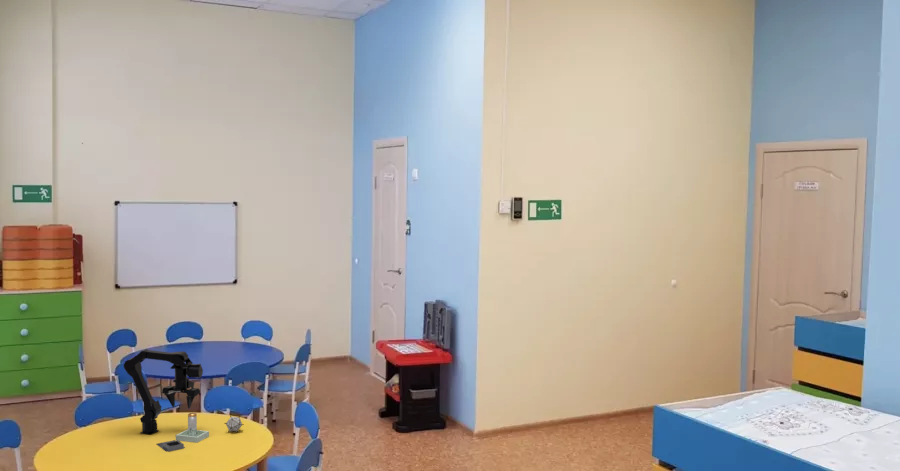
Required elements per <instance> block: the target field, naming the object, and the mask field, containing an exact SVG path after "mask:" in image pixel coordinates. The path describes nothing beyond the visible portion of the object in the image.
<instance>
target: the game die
mask: <svg viewBox="0 0 900 471" xmlns="http://www.w3.org/2000/svg"><path fill="white" fill-rule="evenodd" d="M229 416H230V417H229V418H228V420H227V421H226V422H224V424H225V425H226V428H227V429H228V432H227V433H230V432H237V433H239V430H240V429H241V427H242V426H244V425H245V424H243V423H242V421H241V418H240V417H241V415H238V416H232V415H229Z"/></svg>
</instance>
